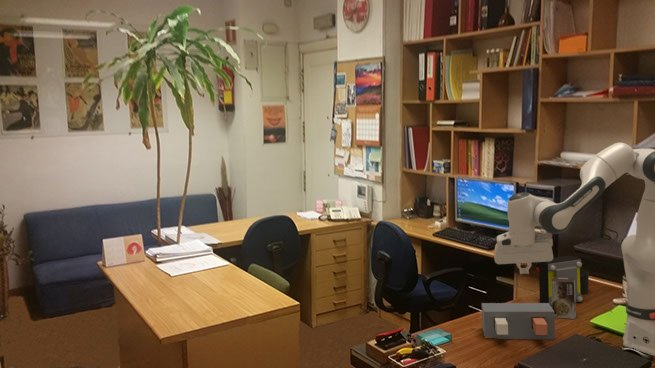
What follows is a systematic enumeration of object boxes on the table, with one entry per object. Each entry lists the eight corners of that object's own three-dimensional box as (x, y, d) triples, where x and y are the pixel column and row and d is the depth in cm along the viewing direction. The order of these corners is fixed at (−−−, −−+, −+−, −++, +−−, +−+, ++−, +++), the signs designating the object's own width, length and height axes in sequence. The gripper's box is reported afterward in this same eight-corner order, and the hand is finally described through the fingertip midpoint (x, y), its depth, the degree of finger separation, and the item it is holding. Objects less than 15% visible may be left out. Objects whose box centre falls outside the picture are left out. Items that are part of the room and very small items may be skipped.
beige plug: (508, 334, 206) (507, 324, 205) (497, 334, 207) (496, 324, 206) (504, 324, 216) (504, 314, 216) (494, 324, 217) (493, 314, 216)
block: (555, 339, 210) (554, 311, 209) (484, 338, 215) (483, 311, 213) (549, 329, 220) (548, 303, 219) (482, 329, 225) (481, 303, 224)
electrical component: (551, 308, 244) (550, 264, 242) (537, 301, 254) (536, 259, 252) (584, 302, 249) (583, 259, 247) (569, 296, 258) (568, 255, 257)
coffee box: (576, 314, 235) (575, 277, 233) (575, 319, 229) (574, 282, 227) (553, 312, 239) (552, 276, 237) (551, 317, 233) (551, 280, 231)
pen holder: (573, 288, 270) (573, 268, 269) (592, 291, 263) (592, 271, 262) (563, 292, 264) (563, 272, 264) (583, 296, 257) (582, 275, 256)
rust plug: (547, 334, 203) (547, 324, 203) (536, 334, 204) (535, 324, 203) (541, 324, 213) (541, 314, 213) (531, 324, 214) (530, 314, 214)
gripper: (550, 232, 199) (552, 268, 201) (492, 236, 203) (494, 271, 205) (554, 237, 193) (556, 275, 195) (494, 241, 197) (496, 278, 199)
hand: (524, 273), depth 200 cm, fingers closed
